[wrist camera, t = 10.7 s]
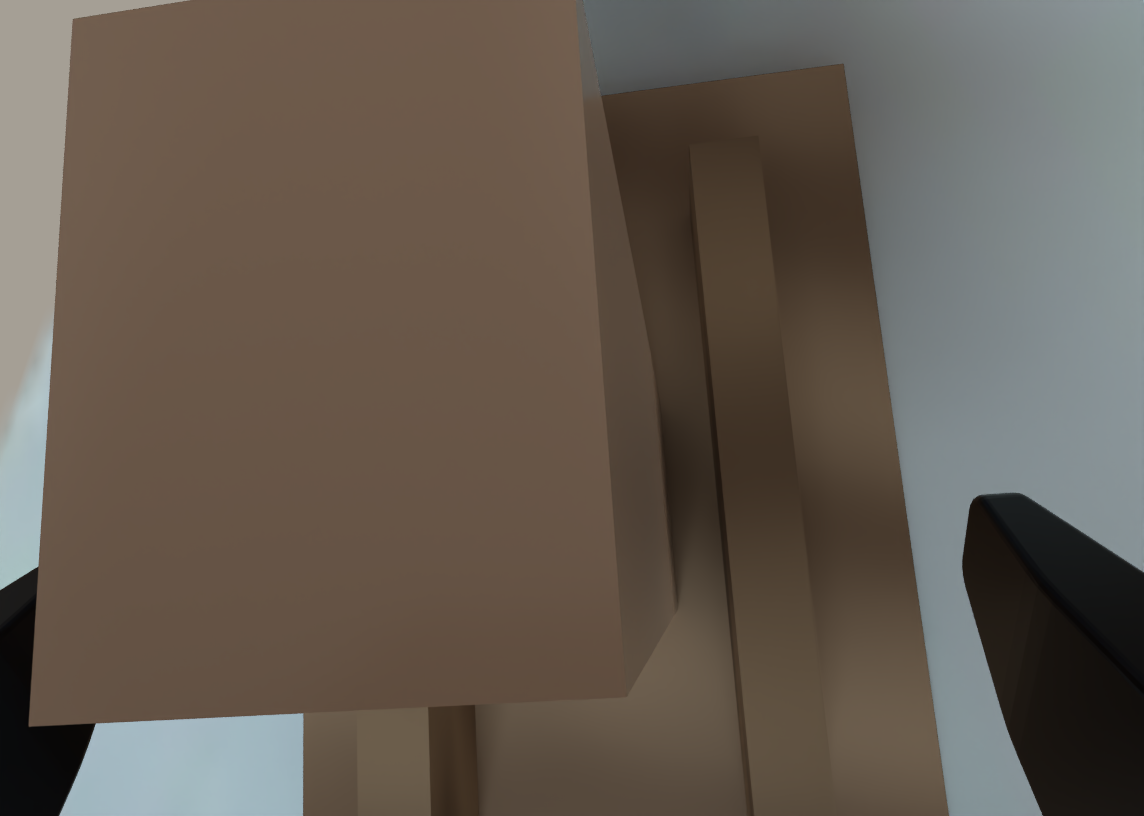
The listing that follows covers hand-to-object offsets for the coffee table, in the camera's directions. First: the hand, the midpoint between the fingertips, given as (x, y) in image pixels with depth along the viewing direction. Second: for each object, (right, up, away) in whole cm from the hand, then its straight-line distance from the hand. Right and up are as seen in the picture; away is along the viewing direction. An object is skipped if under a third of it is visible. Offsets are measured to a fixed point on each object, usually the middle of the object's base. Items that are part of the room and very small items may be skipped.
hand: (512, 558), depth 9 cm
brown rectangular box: (+1, 0, +8) cm, 9 cm away
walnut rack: (+1, -1, +9) cm, 9 cm away
